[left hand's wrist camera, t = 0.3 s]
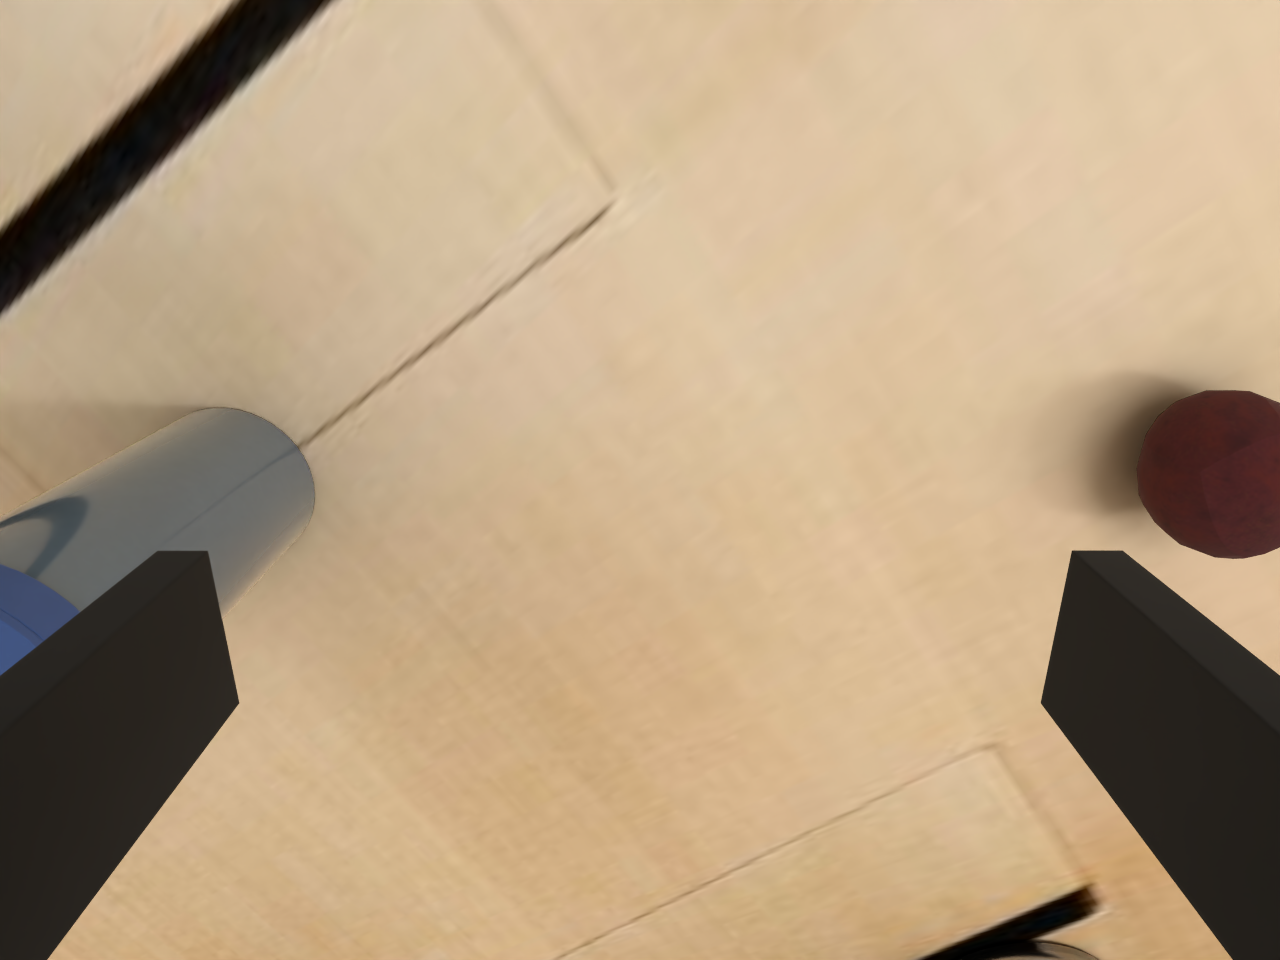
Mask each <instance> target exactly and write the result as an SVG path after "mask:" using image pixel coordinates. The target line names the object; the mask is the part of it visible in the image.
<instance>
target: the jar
mask: <svg viewBox="0 0 1280 960" xmlns="http://www.w3.org/2000/svg"><path fill="white" fill-rule="evenodd" d="M314 499H315V492H314V483H313V479H312V474H311V472H310V469H309V466H308V464H307V462H306V460H305V458H304V456H303V455H302V453H301V452H300V450H299V449H298V447H297V446H296V445H295V444H294V443H293V441H292V440H291V439H290V438H289V437H288V436H287V435H286V434H284V433H283V432H282V431H281V430H280V429H278V428H277V427H276V426H274V425H273V424H271V423H270V422H268V421H266V420H264V419H263V418H261V417H258V416H256V415H254V414H251V413H248V412H244V411H241V410H236V409H230V408H208V409H203V410H198V411H195V412H192V413H190V414H187V415H185V416H183V417H182V418H180V419H178V420H176V421H174V422H172V423H171V424H169V425H167V426H165V427H163V428H161V429H160V430H158V431H156V432H154V433H152V434H150V435H149V436H147V437H145V438H143V439H141V440H139V441H138V442H136V443H134V444H132V445H130V446H128V447H127V448H125V449H123V450H121V451H119V452H117V453H116V454H114V455H112V456H110V457H108V458H106V459H105V460H103V461H101V462H99V463H97V464H95V465H94V466H92V467H90V468H88V469H86V470H84V471H83V472H81V473H79V474H77V475H75V476H73V477H72V478H70V479H68V480H66V481H64V482H62V483H61V484H59V485H57V486H55V487H53V488H51V489H50V490H48V491H46V492H44V493H42V494H40V495H39V496H37V497H35V498H33V499H31V500H29V501H28V502H26V503H24V504H22V505H20V506H18V507H17V508H15V509H13V510H11V511H9V512H7V513H6V514H4V515H2V516H0V564H2V565H5V566H7V567H10V568H13V569H15V570H18V571H20V572H22V573H24V574H26V575H28V576H30V577H32V578H34V579H36V580H38V581H40V582H41V583H43V584H45V585H46V586H48V587H49V588H51V589H53V590H54V591H56V592H57V593H58V594H60V595H61V596H62V597H64V598H65V599H66V600H67V601H69V602H70V603H71V604H73V605H74V606H75V607H76V608H77V609H78V610H79V611H80V612H81V611H82V610H83V609H85V608H86V607H87V606H89V605H90V604H91V603H92V602H94V601H95V600H96V599H97V598H99V597H100V596H101V595H102V594H104V593H105V592H106V591H107V590H109V589H110V588H111V587H112V586H114V585H115V584H116V583H117V582H119V581H120V580H121V579H123V578H124V577H125V576H126V575H128V574H129V573H130V572H131V571H133V570H134V569H135V568H136V567H138V566H139V565H140V564H141V563H143V562H144V561H145V560H146V559H148V558H149V557H150V556H151V555H153V554H154V553H155V552H157V551H208V553H209V558H210V563H211V568H212V573H213V578H214V582H215V587H216V592H217V597H218V602H219V607H220V612H221V617H222V620H223V619H224V618H225V617H226V615H227V614H228V613H229V612H230V611H231V610H232V609H233V608H234V607H235V606H236V605H237V604H238V602H239V601H240V600H241V599H242V598H243V597H244V596H245V595H246V594H247V593H248V592H249V591H250V589H251V588H252V587H253V586H254V585H255V584H256V583H257V582H258V581H259V580H260V579H261V578H262V576H263V575H264V574H265V573H266V572H267V571H268V570H269V569H270V568H271V567H272V566H273V565H274V563H275V562H276V561H277V560H278V559H279V558H280V557H281V556H282V555H283V554H284V553H285V552H286V550H287V549H288V548H289V547H290V546H291V545H292V544H293V543H294V542H295V541H296V540H297V539H298V537H299V536H300V535H301V534H302V532H303V531H304V530H305V528H306V527H307V525H308V523H309V521H310V518H311V515H312V513H313V508H314Z"/></svg>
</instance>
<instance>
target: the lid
mask: <svg viewBox="0 0 1280 960" xmlns="http://www.w3.org/2000/svg"><path fill="white" fill-rule="evenodd" d="M78 613H80V611H79V610H78V609H77V608H76V607H75V606H74V605H73V604H71V603H70V602H69V601H67V600H66V599H65V598H64V597H62V596H61V595H60V594H58V593H57V592H56V591H54V590H53V589H51V588H49V587H48V586H46V585H45V584H43V583H41V582H40V581H38V580H36V579H34V578H32V577H30V576H28V575H26V574H24V573H22V572H20V571H18V570H15V569H13V568H10V567H7V566H5V565H2V564H0V675H2V674H3V673H4V672H5V671H7V670H8V669H9V668H10V667H12V666H13V665H14V664H15V663H17V662H18V661H19V660H21V659H22V658H23V657H24V656H26V655H27V654H28V653H29V652H31V651H32V650H33V649H34V648H36V647H37V646H38V645H39V644H41V643H42V642H43V641H44V640H46V639H47V638H48V637H49V636H51V635H52V634H53V633H55V632H56V631H57V630H58V629H60V628H61V627H62V626H63V625H65V624H66V623H67V622H68V621H70V620H71V619H72V618H73V617H75V616H76V615H77V614H78Z"/></svg>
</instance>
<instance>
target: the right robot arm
mask: <svg viewBox="0 0 1280 960" xmlns="http://www.w3.org/2000/svg"><path fill="white" fill-rule="evenodd" d="M958 960H1098V959H1096V958H1095V957H1093V956H1091V955H1089V954H1087V953H1085V952H1082V951H1080V950H1077V949H1074V948H1070V947H1067V946H1062V945H1057V944H1050V943H1037V942H1028V943H1013V944H1006V945H1000V946H995V947H991V948H987V949H983V950H980V951H977V952H974V953H972V954H969V955H966V956H964V957H962V958H960V959H958Z"/></svg>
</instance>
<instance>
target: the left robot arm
mask: <svg viewBox="0 0 1280 960" xmlns="http://www.w3.org/2000/svg"><path fill="white" fill-rule="evenodd" d="M238 704H239V700H238V695H237V690H236V685H235V680H234V675H233V670H232V665H231V661H230V656H229V651H228V646H227V641H226V636H225V631H224V626H223V622H222V617H221V612H220V607H219V602H218V597H217V592H216V587H215V582H214V578H213V573H212V568H211V563H210V558H209V553H208V551H157V552H155V553H154V554H153V555H151V556H150V557H149V558H148V559H146V560H145V561H144V562H143V563H141V564H140V565H139V566H138V567H136V568H135V569H134V570H133V571H131V572H130V573H129V574H128V575H126V576H125V577H124V578H123V579H121V580H120V581H119V582H117V583H116V584H115V585H114V586H112V587H111V588H110V589H109V590H107V591H106V592H105V593H104V594H102V595H101V596H100V597H99V598H97V599H96V600H95V601H94V602H92V603H91V604H90V605H89V606H87V607H86V608H85V609H83V610H82V611H81V612H80V613H78V614H77V615H76V616H75V617H73V618H72V619H71V620H70V621H68V622H67V623H66V624H65V625H63V626H62V627H61V628H60V629H58V630H57V631H56V632H55V633H53V634H52V635H51V636H49V637H48V638H47V639H46V640H44V641H43V642H42V643H41V644H39V645H38V646H37V647H36V648H34V649H33V650H32V651H31V652H29V653H28V654H27V655H26V656H24V657H23V658H22V659H21V660H19V661H18V662H17V663H15V664H14V665H13V666H12V667H10V668H9V669H8V670H7V671H5V672H4V673H3V674H2V675H0V960H47V959H48V958H49V956H50V955H51V954H52V952H53V951H54V950H55V948H56V947H57V946H58V944H59V943H60V942H61V940H62V939H63V938H64V936H65V935H66V934H67V932H68V931H69V930H70V928H71V927H72V926H73V924H74V923H75V922H76V920H77V919H78V918H79V916H80V915H81V914H82V912H83V911H84V910H85V908H86V907H87V906H88V904H89V903H90V902H91V900H92V899H93V898H94V896H95V895H96V894H97V892H98V891H99V890H100V888H101V887H102V886H103V884H104V883H105V882H106V880H107V879H108V878H109V876H110V875H111V874H112V872H113V871H114V870H115V868H116V867H117V866H118V864H119V863H120V862H121V860H122V859H123V858H124V856H125V855H126V854H127V852H128V851H129V850H130V848H131V847H132V846H133V844H134V843H135V842H136V840H137V839H138V838H139V836H140V835H141V834H142V832H143V831H144V830H145V828H146V827H147V826H148V824H149V823H150V822H151V820H152V819H153V818H154V816H155V815H156V814H157V812H158V811H159V810H160V808H161V807H162V806H163V804H164V803H165V802H166V800H167V799H168V798H169V796H170V795H171V793H172V792H173V791H174V789H175V788H176V787H177V785H178V784H179V783H180V781H181V780H182V779H183V777H184V776H185V775H186V773H187V772H188V771H189V769H190V768H191V767H192V765H193V764H194V763H195V761H196V760H197V759H198V757H199V756H200V755H201V753H202V752H203V751H204V749H205V748H206V747H207V745H208V744H209V743H210V741H211V740H212V739H213V737H214V736H215V735H216V733H217V732H218V731H219V729H220V728H221V727H222V725H223V724H224V723H225V721H226V720H227V719H228V717H229V716H230V715H231V713H232V712H233V711H234V709H235V708H236V707H237V705H238ZM1041 704H1042V705H1043V707H1044V708H1045V709H1046V711H1047V712H1048V713H1049V715H1050V716H1051V717H1052V719H1053V720H1054V721H1055V723H1056V724H1057V725H1058V727H1059V728H1060V729H1061V731H1062V732H1063V733H1064V735H1065V736H1066V737H1067V739H1068V740H1069V741H1070V743H1071V744H1072V745H1073V747H1074V748H1075V749H1076V751H1077V752H1078V753H1079V755H1080V756H1081V757H1082V759H1083V760H1084V761H1085V763H1086V764H1087V765H1088V767H1089V768H1090V769H1091V771H1092V772H1093V773H1094V775H1095V776H1096V777H1097V779H1098V780H1099V781H1100V783H1101V784H1102V785H1103V787H1104V788H1105V789H1106V791H1107V792H1108V793H1109V795H1110V796H1111V798H1112V799H1113V800H1114V802H1115V803H1116V804H1117V806H1118V807H1119V808H1120V810H1121V811H1122V812H1123V814H1124V815H1125V816H1126V818H1127V819H1128V820H1129V822H1130V823H1131V824H1132V826H1133V827H1134V828H1135V830H1136V831H1137V832H1138V834H1139V835H1140V836H1141V838H1142V839H1143V840H1144V842H1145V843H1146V844H1147V846H1148V847H1149V848H1150V850H1151V851H1152V852H1153V854H1154V855H1155V856H1156V858H1157V859H1158V860H1159V862H1160V863H1161V864H1162V866H1163V867H1164V868H1165V870H1166V871H1167V872H1168V874H1169V875H1170V876H1171V878H1172V879H1173V880H1174V882H1175V883H1176V884H1177V886H1178V887H1179V888H1180V890H1181V891H1182V892H1183V894H1184V895H1185V896H1186V898H1187V899H1188V900H1189V902H1190V903H1191V904H1192V906H1193V907H1194V908H1195V910H1196V911H1197V912H1198V914H1199V915H1200V916H1201V918H1202V919H1203V920H1204V922H1205V923H1206V924H1207V926H1208V927H1209V928H1210V930H1211V931H1212V932H1213V934H1214V935H1215V936H1216V938H1217V939H1218V940H1219V942H1220V943H1221V944H1222V946H1223V947H1224V948H1225V950H1226V951H1227V952H1228V954H1229V955H1230V956H1231V958H1232V959H1233V960H1280V675H1278V674H1277V673H1276V672H1275V671H1273V670H1272V669H1271V668H1270V667H1268V666H1267V665H1266V664H1265V663H1263V662H1262V661H1261V660H1259V659H1258V658H1257V657H1256V656H1254V655H1253V654H1252V653H1251V652H1249V651H1248V650H1247V649H1246V648H1244V647H1243V646H1242V645H1241V644H1239V643H1238V642H1237V641H1236V640H1234V639H1233V638H1232V637H1231V636H1229V635H1228V634H1227V633H1225V632H1224V631H1223V630H1222V629H1220V628H1219V627H1218V626H1217V625H1215V624H1214V623H1213V622H1212V621H1210V620H1209V619H1208V618H1207V617H1205V616H1204V615H1203V614H1202V613H1200V612H1199V611H1198V610H1197V609H1195V608H1194V607H1193V606H1191V605H1190V604H1189V603H1188V602H1186V601H1185V600H1184V599H1183V598H1181V597H1180V596H1179V595H1178V594H1176V593H1175V592H1174V591H1173V590H1171V589H1170V588H1169V587H1168V586H1166V585H1165V584H1164V583H1163V582H1161V581H1160V580H1159V579H1157V578H1156V577H1155V576H1154V575H1152V574H1151V573H1150V572H1149V571H1147V570H1146V569H1145V568H1144V567H1142V566H1141V565H1140V564H1139V563H1137V562H1136V561H1135V560H1134V559H1132V558H1131V557H1130V556H1129V555H1127V554H1126V553H1125V552H1123V551H1072V553H1071V558H1070V563H1069V568H1068V573H1067V578H1066V582H1065V587H1064V592H1063V597H1062V602H1061V607H1060V612H1059V617H1058V621H1057V626H1056V631H1055V636H1054V641H1053V646H1052V651H1051V656H1050V661H1049V665H1048V670H1047V675H1046V680H1045V685H1044V690H1043V695H1042V700H1041Z"/></svg>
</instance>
